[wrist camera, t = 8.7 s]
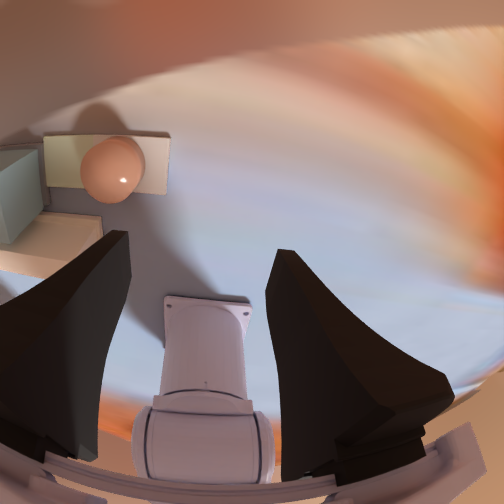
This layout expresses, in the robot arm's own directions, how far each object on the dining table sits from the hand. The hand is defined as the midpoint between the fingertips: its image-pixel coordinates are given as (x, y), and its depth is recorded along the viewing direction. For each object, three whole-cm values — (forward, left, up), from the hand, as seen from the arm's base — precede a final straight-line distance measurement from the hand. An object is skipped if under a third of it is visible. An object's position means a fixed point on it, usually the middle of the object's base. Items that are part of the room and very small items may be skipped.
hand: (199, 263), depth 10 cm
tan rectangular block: (-6, +14, -10) cm, 18 cm away
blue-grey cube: (-1, +16, -9) cm, 18 cm away
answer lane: (0, +9, -10) cm, 13 cm away
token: (0, +7, -10) cm, 12 cm away
